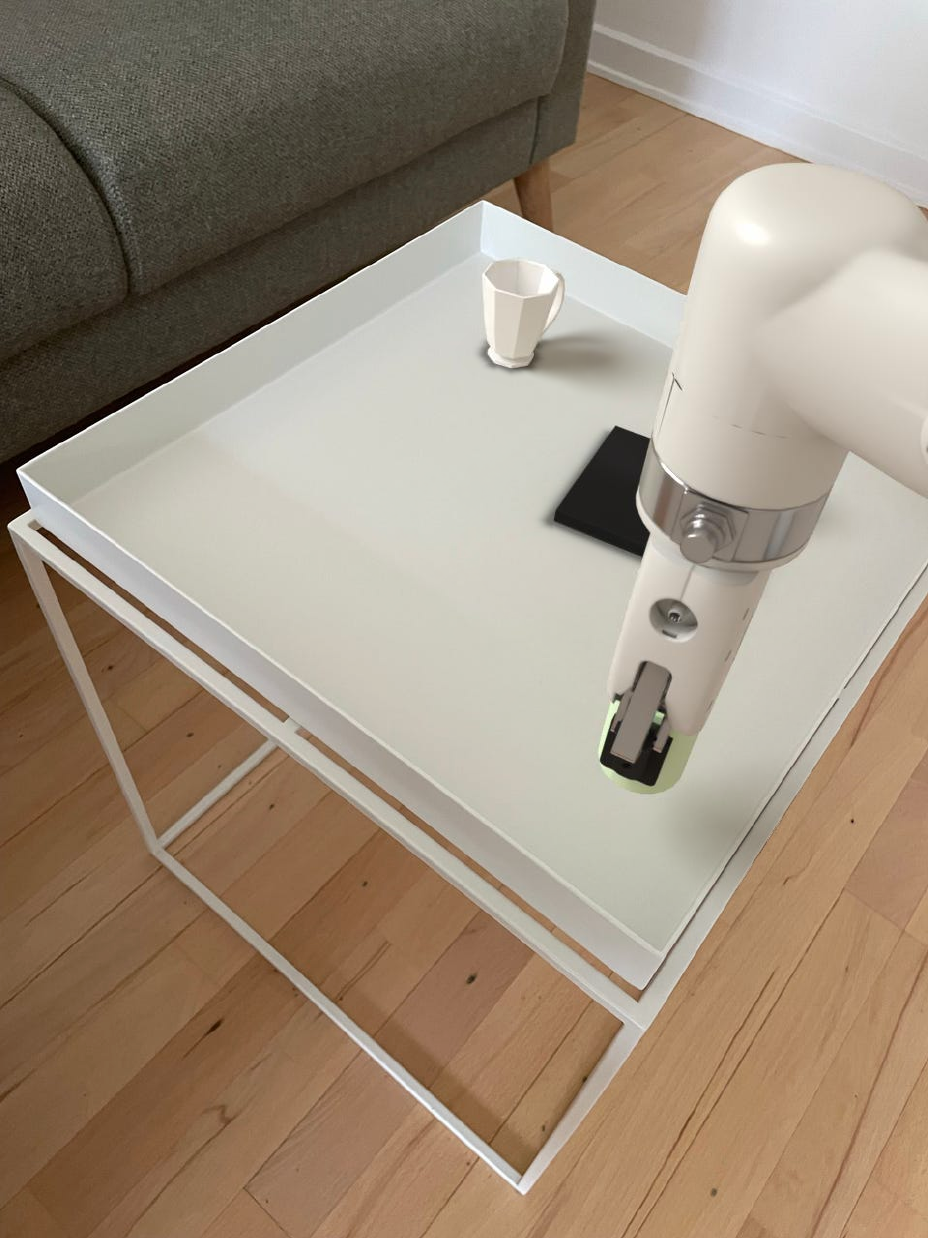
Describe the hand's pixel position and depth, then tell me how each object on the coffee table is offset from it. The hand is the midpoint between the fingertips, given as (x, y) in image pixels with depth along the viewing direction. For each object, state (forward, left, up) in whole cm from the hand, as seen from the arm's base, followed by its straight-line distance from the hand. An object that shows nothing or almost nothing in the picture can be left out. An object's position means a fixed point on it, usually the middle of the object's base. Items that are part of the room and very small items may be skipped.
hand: (644, 737), depth 54 cm
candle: (0, -1, -3) cm, 3 cm away
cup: (+27, -43, -9) cm, 51 cm away
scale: (+7, -29, -8) cm, 31 cm away
